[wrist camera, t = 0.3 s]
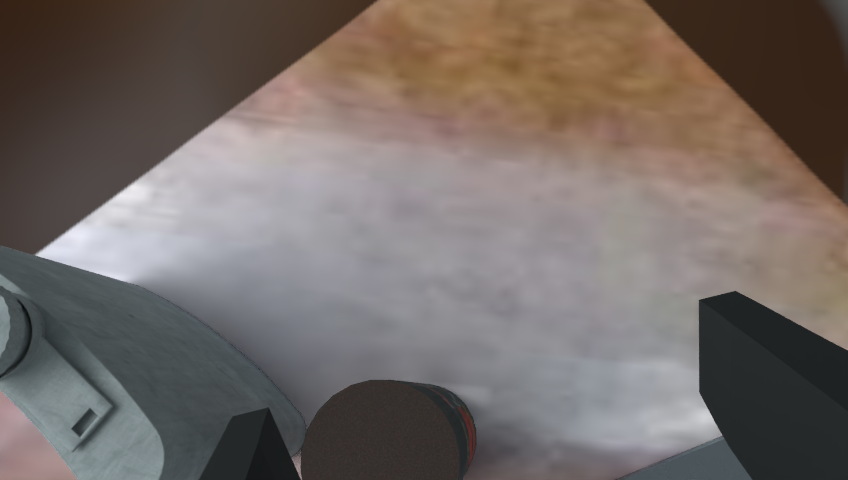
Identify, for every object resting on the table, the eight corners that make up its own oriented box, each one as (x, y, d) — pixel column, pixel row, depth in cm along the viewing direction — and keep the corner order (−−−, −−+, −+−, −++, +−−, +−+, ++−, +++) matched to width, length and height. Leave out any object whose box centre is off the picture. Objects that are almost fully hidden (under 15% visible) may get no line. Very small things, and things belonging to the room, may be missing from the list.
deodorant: (398, 368, 41) (339, 354, 26) (491, 408, 40) (485, 417, 25) (358, 464, 40) (274, 505, 25) (453, 508, 39) (422, 577, 24)
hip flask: (92, 315, 44) (-235, 253, 24) (132, 262, 44) (-158, 161, 25) (283, 471, 40) (80, 544, 21) (325, 413, 41) (164, 431, 21)
